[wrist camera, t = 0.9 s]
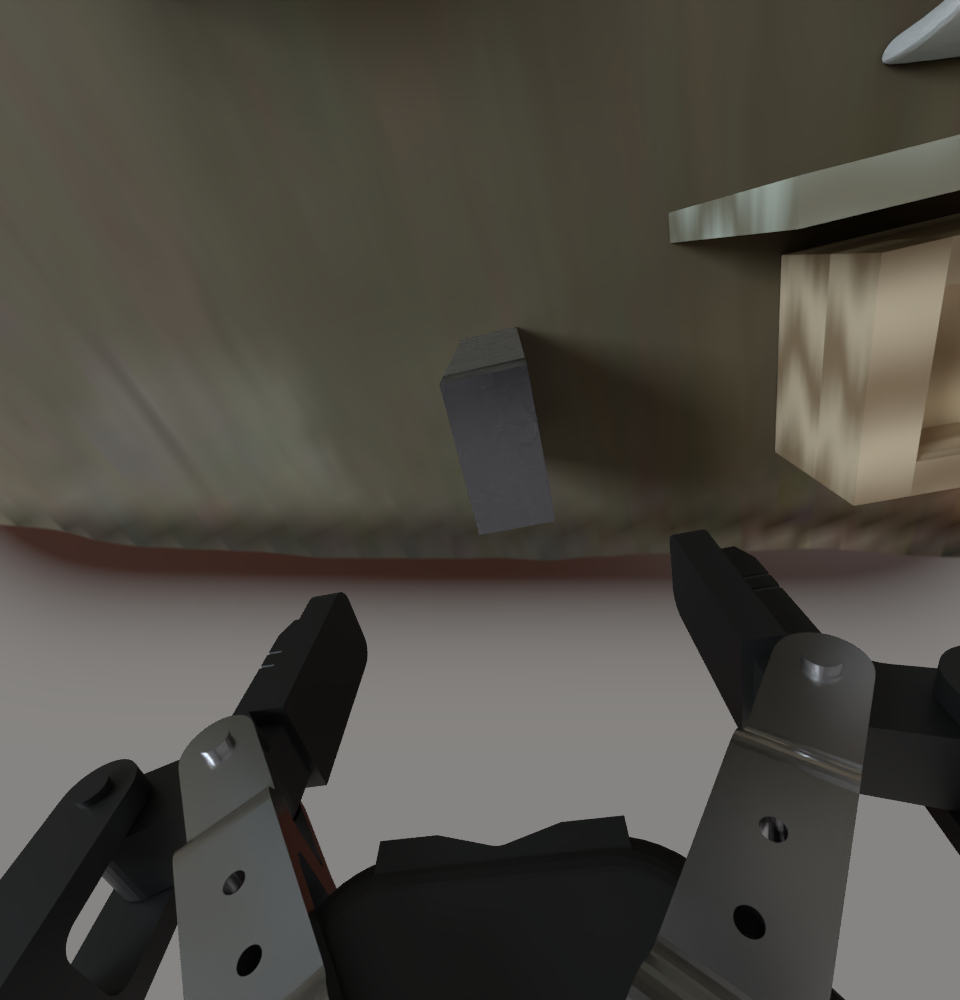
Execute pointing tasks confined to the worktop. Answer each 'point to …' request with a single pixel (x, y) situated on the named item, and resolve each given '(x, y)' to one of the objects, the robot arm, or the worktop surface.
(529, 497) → the brushed steel bar
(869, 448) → the small shelf
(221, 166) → the worktop surface
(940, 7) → the spoon rest
